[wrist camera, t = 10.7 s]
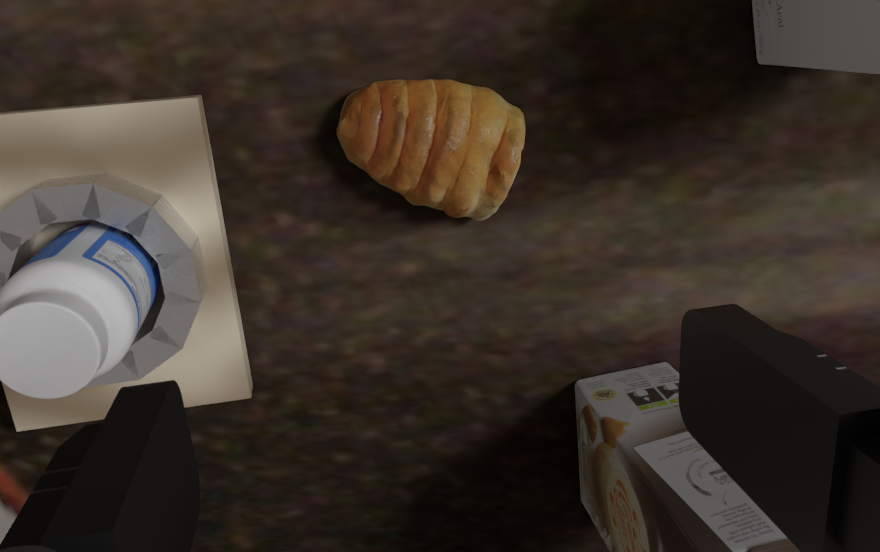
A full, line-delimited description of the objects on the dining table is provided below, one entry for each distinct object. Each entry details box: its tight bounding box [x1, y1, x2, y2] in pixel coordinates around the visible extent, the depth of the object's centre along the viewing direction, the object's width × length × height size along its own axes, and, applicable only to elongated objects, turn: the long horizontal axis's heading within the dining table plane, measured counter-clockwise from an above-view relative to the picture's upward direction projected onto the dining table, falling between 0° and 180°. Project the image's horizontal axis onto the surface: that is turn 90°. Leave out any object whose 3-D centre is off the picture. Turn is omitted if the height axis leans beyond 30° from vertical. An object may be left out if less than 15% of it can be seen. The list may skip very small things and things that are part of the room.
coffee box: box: [575, 362, 800, 552], centre depth 39 cm, size 9×6×16 cm
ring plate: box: [0, 95, 253, 432], centre depth 37 cm, size 16×12×2 cm
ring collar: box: [0, 173, 208, 388], centre depth 35 cm, size 10×10×2 cm
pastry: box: [337, 79, 525, 221], centre depth 37 cm, size 9×7×4 cm
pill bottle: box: [0, 221, 161, 399], centre depth 32 cm, size 6×5×10 cm
